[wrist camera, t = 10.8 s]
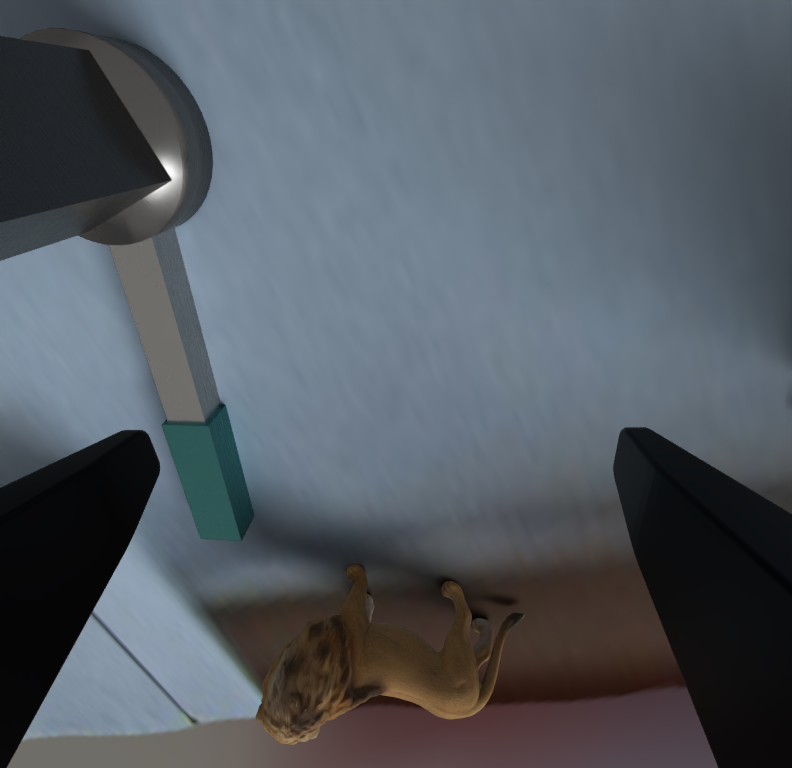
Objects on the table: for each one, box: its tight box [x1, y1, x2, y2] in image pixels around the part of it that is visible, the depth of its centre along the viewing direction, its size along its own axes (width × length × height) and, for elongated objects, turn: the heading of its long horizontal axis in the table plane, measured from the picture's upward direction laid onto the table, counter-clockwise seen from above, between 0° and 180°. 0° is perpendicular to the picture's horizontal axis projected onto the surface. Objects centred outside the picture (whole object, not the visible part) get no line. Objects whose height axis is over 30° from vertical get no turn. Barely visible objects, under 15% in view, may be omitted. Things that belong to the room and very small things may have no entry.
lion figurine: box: [256, 564, 524, 745], centre depth 27 cm, size 15×5×9 cm, turn 91°
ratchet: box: [20, 28, 254, 541], centre depth 22 cm, size 7×24×5 cm, turn 3°
